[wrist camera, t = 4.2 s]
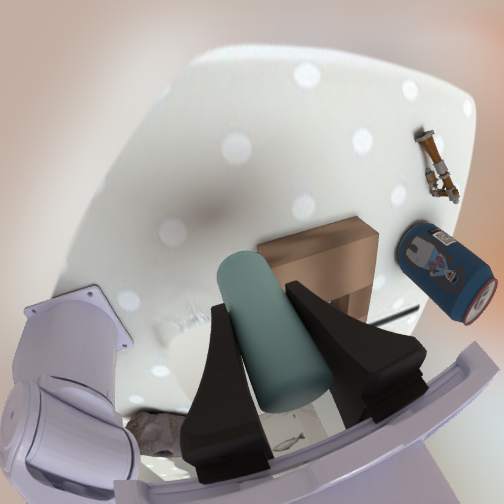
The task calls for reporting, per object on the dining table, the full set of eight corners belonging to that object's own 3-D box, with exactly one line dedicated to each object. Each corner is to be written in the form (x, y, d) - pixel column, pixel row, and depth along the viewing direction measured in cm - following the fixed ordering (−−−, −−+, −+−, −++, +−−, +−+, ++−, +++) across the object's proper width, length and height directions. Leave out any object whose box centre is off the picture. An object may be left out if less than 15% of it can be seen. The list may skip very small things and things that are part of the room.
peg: (223, 300, 17) (264, 420, 10) (211, 260, 15) (253, 389, 8) (270, 285, 17) (331, 395, 10) (264, 244, 15) (336, 358, 9)
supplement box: (290, 395, 40) (321, 461, 30) (312, 401, 44) (340, 458, 34) (256, 416, 41) (280, 479, 31) (280, 421, 45) (303, 476, 35)
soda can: (424, 260, 32) (484, 315, 23) (388, 274, 31) (451, 340, 21) (436, 214, 29) (508, 266, 19) (398, 224, 27) (478, 287, 18)
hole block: (275, 354, 33) (285, 376, 30) (256, 245, 24) (270, 268, 21) (347, 326, 34) (361, 345, 31) (356, 216, 25) (379, 233, 22)
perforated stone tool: (223, 414, 38) (234, 452, 32) (208, 427, 40) (217, 462, 34) (129, 400, 31) (132, 446, 25) (121, 415, 32) (123, 456, 27)
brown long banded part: (432, 205, 27) (457, 208, 22) (400, 142, 25) (424, 136, 21) (441, 197, 26) (466, 199, 22) (410, 136, 25) (434, 129, 21)
